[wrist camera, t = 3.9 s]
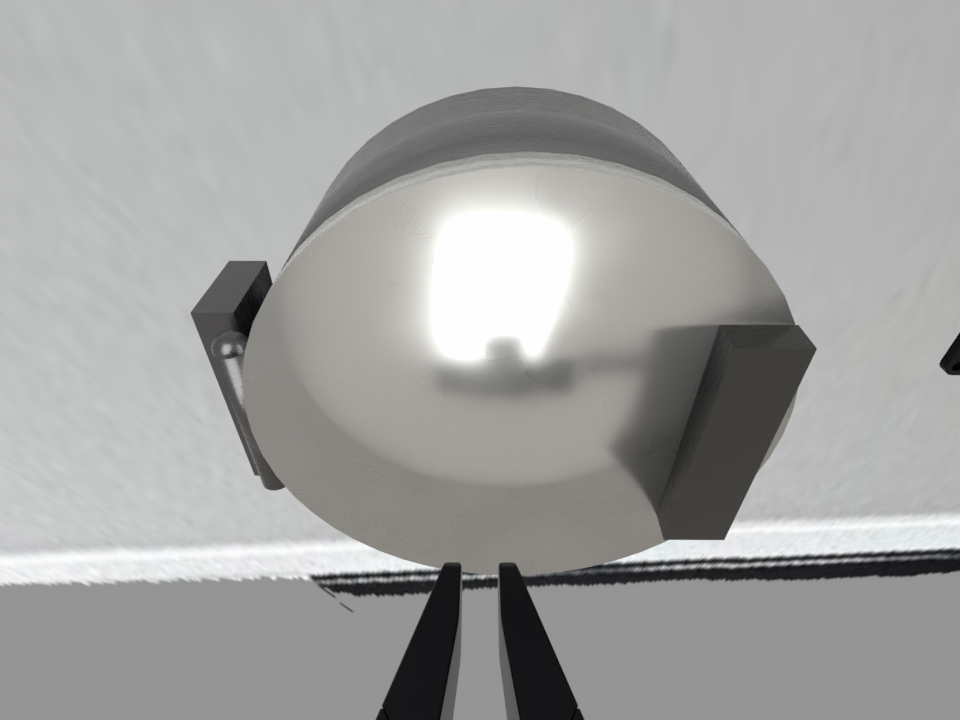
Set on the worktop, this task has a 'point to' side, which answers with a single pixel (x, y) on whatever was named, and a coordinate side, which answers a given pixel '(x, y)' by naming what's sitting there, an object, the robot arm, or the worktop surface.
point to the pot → (441, 138)
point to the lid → (518, 366)
